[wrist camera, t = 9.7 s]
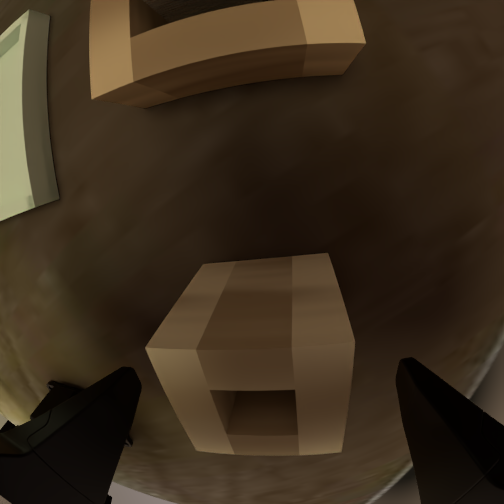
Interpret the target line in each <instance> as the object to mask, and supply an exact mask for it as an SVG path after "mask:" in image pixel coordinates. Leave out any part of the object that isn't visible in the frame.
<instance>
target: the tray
mask: <svg viewBox="0 0 504 504" xmlns="http://www.w3.org/2000/svg"><path fill="white" fill-rule="evenodd" d="M49 22H50V16H49V15H46V14H43V13H40V12H37V11H34V10H31V9H29V10H28V11H27V12H26V13H24V14H23V15H22V16H21V17H20V18H19V19H18V20H17V21H15V22H14V23H13V24H12V25H11V26H10V27H9V28H8V29H7V30H6V31H5V32H4V33H3V34H2V35H1V36H0V221H1V220H4V219H6V218H9V217H11V216H14V215H16V214H19V213H22V212H24V211H27V210H30V209H32V208H35V207H38V206H41V205H43V204H46V203H49V202H52V201H55V200H58V199H60V198H59V193H58V188H57V183H56V177H55V171H54V165H53V158H52V151H51V143H50V134H49V123H48V109H47V45H48V32H49Z"/></svg>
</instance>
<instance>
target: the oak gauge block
mask: <svg viewBox="0 0 504 504" xmlns="http://www.w3.org/2000/svg"><path fill="white" fill-rule="evenodd" d="M365 44H366V42H365V38H364V34H363V30H362V27H361V23H360V20H359V17H358V13H357V10H356V7H355V4H354V1H353V0H274V1H266V2H258V3H252V4H246V5H240V6H234V7H229V8H225V9H220V10H216V11H211V12H207V13H203V14H199V15H196V16H192V17H188V18H185V19H182V20H178V21H175V22H172V23H169V22H168V21H166V20H165V19H164V18H163V17H162V16H161V15H159V14H158V13H157V12H156V11H155V10H154V9H152V8H151V7H150V6H149V5H148V4H146V3H145V2H144V1H143V0H91V8H90V32H89V56H90V82H91V97H92V100H99V101H106V102H112V103H118V104H124V105H129V106H134V107H139V108H144V109H145V108H148V107H152V106H155V105H158V104H162V103H165V102H168V101H172V100H176V99H179V98H183V97H187V96H191V95H195V94H199V93H203V92H208V91H212V90H217V89H222V88H227V87H232V86H238V85H243V84H249V83H256V82H263V81H270V80H278V79H287V78H297V77H309V76H325V75H343V74H344V72H345V71H346V69H347V68H348V67H349V65H350V64H351V63H352V61H353V60H354V59H355V57H356V56H357V55H358V53H359V52H360V51H361V49H362V48H363V47H364V45H365Z"/></svg>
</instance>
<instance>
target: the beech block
mask: <svg viewBox="0 0 504 504" xmlns="http://www.w3.org/2000/svg"><path fill="white" fill-rule="evenodd" d="M145 349H146V351H147V354H148V356H149V358H150V360H151V363H152V365H153V367H154V370H155V372H156V374H157V376H158V378H159V380H160V383H161V385H162V387H163V389H164V391H165V393H166V395H167V397H168V399H169V401H170V403H171V405H172V407H173V409H174V411H175V413H176V415H177V417H178V419H179V420H180V422H181V424H182V426H183V428H184V430H185V431H186V433H187V435H188V437H189V438H190V440H191V442H192V444H193V445H194V447H195V449H196V450H197V451H203V452H211V453H222V454H235V455H256V456H292V455H313V454H326V453H336V452H341V450H342V445H343V439H344V433H345V427H346V421H347V414H348V407H349V399H350V391H351V382H352V373H353V362H354V350H355V339H354V336H353V332H352V328H351V325H350V321H349V318H348V315H347V311H346V308H345V304H344V301H343V298H342V295H341V291H340V288H339V285H338V282H337V279H336V276H335V272H334V269H333V266H332V263H331V260H330V257H329V254H328V253H321V254H310V255H299V256H288V257H277V258H266V259H255V260H243V261H232V262H220V263H209V264H203V265H202V266H201V268H200V269H199V271H198V272H197V273H196V275H195V276H194V278H193V279H192V280H191V282H190V283H189V285H188V286H187V288H186V289H185V290H184V292H183V293H182V295H181V296H180V297H179V299H178V300H177V302H176V303H175V305H174V306H173V307H172V309H171V310H170V312H169V313H168V315H167V316H166V318H165V319H164V320H163V322H162V323H161V325H160V326H159V328H158V329H157V331H156V332H155V334H154V335H153V337H152V338H151V339H150V341H149V342H148V344H147V345H146V347H145Z"/></svg>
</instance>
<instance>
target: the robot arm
mask: <svg viewBox="0 0 504 504" xmlns="http://www.w3.org/2000/svg"><path fill="white" fill-rule="evenodd" d="M47 387H48V389H49V390H50V392H49V393H48V394H47V395H46V397H45V398H44V399H43V400H42V401H41V403H40V404H39V405H38V406H37V408H36V409H35V410H34V412H33V413H32V414H31V415H30V419H31V421H28V422H26V423H24V424H22V425H20V426H19V425H17V426H15V425H14V424H12V423H11V422H10V421H9V420H8V421H7V422H6V423H5V425H4V426H3V427H2V428H1V430H0V504H111V501H112V497H111V496H109V495H108V491H109V488H110V485H111V482H112V479H113V476H114V473H115V470H116V467H117V465H118V462H119V459H120V456H121V453H122V451H123V448H124V446H127V447H132V444H133V442H132V440H131V439H130V438H129V436H128V434H129V431H130V429H131V426H132V423H133V420H134V416H135V412H136V408H137V404H138V401H139V397H140V393H141V389H142V385H141V382H140V380H139V378H138V376H137V374H136V372H135V370H134V369H133V368H132V367H125V366H124V367H121V368H119V369H118V370H116V371H114V372H113V373H111V374H109V375H108V376H106V377H105V378H103V379H101V380H100V381H98V382H96V383H95V384H93V385H91V386H90V387H88V388H86V389H85V390H83V391H81V390H78V389H74V388H70V387H67V386H64V385H60V384H57V383H54V382H51V381H49V382H48V383H47ZM396 387H397V393H398V398H399V404H400V411H401V417H402V423H403V427H404V431H405V434H406V438H407V442H408V446H409V450H410V454H411V458H412V462H413V466H414V470H415V475H416V480H417V485H418V489H419V495H420V500H421V504H504V426H503V425H502V424H501V423H499V422H498V421H497V420H495V419H494V418H492V417H491V416H490V415H488V414H487V413H486V412H483V410H482V409H481V408H479V407H478V406H477V405H475V404H474V403H473V402H471V401H470V400H469V399H467V398H466V397H465V396H464V395H462V394H461V393H460V392H458V391H457V390H456V389H454V388H453V387H452V386H450V385H449V384H448V383H446V382H445V381H444V380H442V379H441V378H440V377H438V376H437V375H436V374H434V373H433V372H432V371H430V370H429V369H428V368H426V367H425V366H424V365H422V364H421V363H420V362H418V361H417V360H416V359H414V358H413V357H409V358H403V359H401V360H400V362H399V365H398V370H397V374H396Z"/></svg>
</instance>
